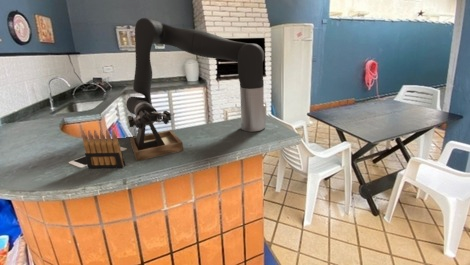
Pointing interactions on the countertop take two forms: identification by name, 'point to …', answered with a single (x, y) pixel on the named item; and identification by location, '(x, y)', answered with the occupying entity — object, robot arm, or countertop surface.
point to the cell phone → (84, 160)
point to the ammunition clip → (103, 151)
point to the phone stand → (141, 133)
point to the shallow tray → (170, 146)
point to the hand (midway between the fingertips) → (153, 123)
